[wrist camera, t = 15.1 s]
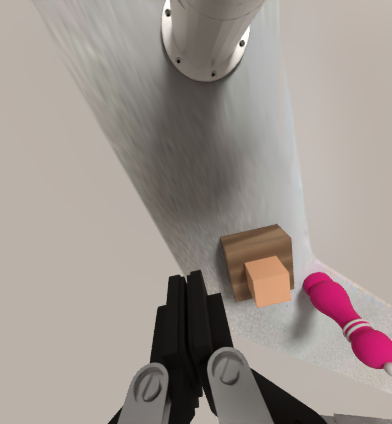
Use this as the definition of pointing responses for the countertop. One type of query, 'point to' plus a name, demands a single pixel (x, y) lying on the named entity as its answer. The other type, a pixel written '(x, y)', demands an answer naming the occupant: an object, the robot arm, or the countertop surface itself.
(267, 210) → the countertop surface
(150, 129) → the countertop surface
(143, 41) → the countertop surface
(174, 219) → the countertop surface
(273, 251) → the post block
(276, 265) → the cardboard-colored cube
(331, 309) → the pepper mill
